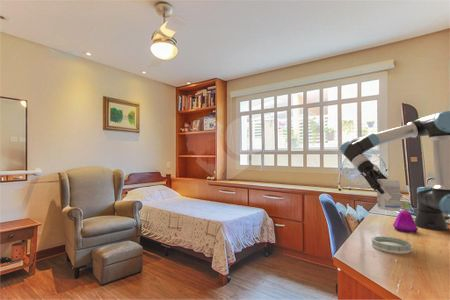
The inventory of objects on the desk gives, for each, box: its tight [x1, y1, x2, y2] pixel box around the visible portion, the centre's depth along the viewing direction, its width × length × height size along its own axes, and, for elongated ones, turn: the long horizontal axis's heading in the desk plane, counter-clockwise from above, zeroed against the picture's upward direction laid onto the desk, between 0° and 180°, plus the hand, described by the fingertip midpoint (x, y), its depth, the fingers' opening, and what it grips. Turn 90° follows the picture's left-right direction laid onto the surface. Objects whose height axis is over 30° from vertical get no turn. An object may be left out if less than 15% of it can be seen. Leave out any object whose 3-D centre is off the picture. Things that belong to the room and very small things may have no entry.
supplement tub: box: [376, 178, 401, 212], centre depth 122 cm, size 10×10×15 cm
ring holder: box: [371, 235, 412, 255], centre depth 109 cm, size 14×14×3 cm
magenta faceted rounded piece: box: [392, 202, 419, 233], centre depth 137 cm, size 11×11×15 cm
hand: (395, 198), depth 119 cm, fingers closed on supplement tub, 9 cm apart
